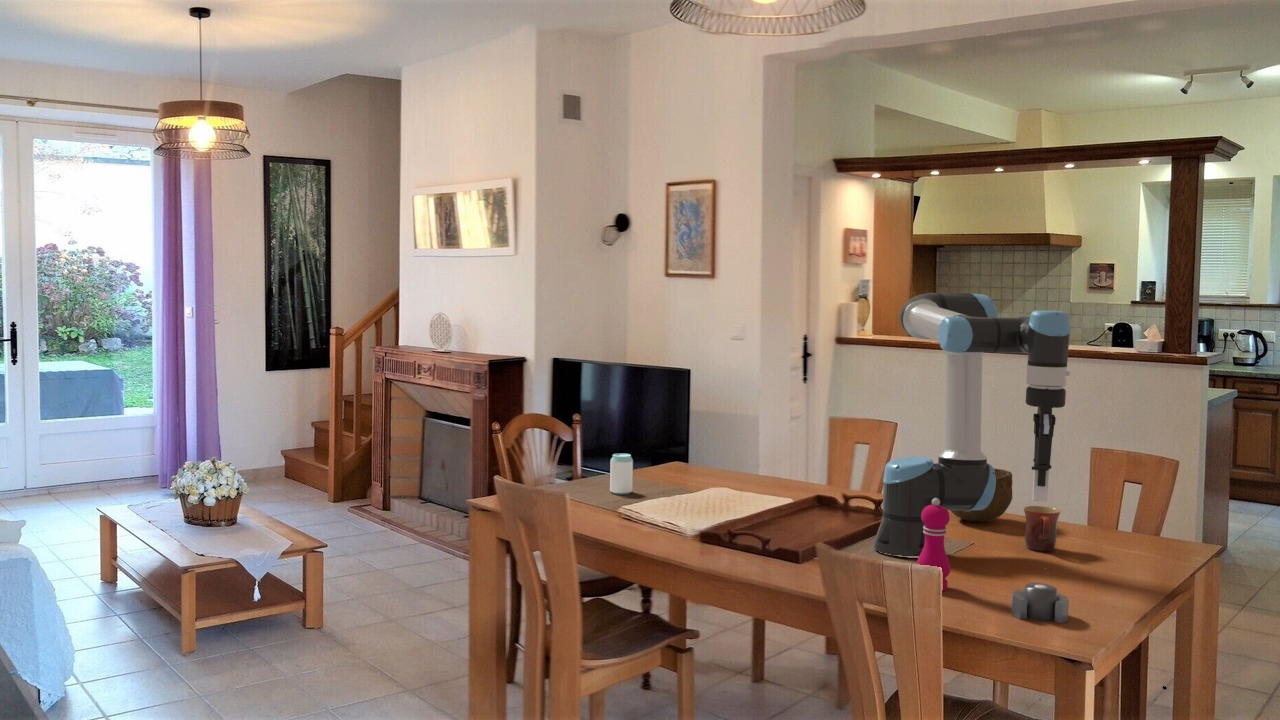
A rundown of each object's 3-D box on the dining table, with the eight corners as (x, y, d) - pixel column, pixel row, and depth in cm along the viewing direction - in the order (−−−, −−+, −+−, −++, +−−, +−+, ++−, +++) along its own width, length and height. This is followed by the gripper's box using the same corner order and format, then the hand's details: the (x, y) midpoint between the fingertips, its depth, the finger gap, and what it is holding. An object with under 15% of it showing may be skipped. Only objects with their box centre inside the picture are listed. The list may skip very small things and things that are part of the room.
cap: (1024, 619, 206) (1026, 589, 206) (1022, 610, 212) (1023, 580, 211) (1056, 622, 204) (1058, 592, 204) (1053, 613, 210) (1055, 583, 210)
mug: (1019, 543, 267) (1021, 504, 266) (1054, 545, 265) (1056, 506, 265) (1027, 555, 255) (1028, 514, 255) (1064, 557, 254) (1066, 517, 253)
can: (607, 494, 320) (608, 456, 319) (612, 489, 327) (612, 452, 326) (630, 495, 318) (630, 457, 318) (634, 491, 325) (634, 453, 324)
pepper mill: (910, 582, 230) (914, 494, 228) (942, 582, 231) (945, 494, 229) (922, 592, 223) (926, 501, 221) (954, 592, 223) (958, 501, 222)
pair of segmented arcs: (1012, 618, 206) (1013, 599, 206) (1010, 607, 213) (1011, 588, 213) (1069, 624, 203) (1070, 604, 203) (1064, 613, 210) (1066, 594, 210)
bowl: (1018, 520, 294) (1020, 468, 293) (1002, 532, 279) (1004, 478, 277) (952, 511, 304) (954, 461, 303) (933, 523, 289) (935, 470, 287)
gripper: (1069, 391, 201) (1062, 509, 203) (1062, 384, 214) (1056, 495, 216) (1028, 389, 203) (1022, 506, 206) (1024, 382, 216) (1018, 492, 218)
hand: (1039, 500), depth 211 cm, fingers closed
